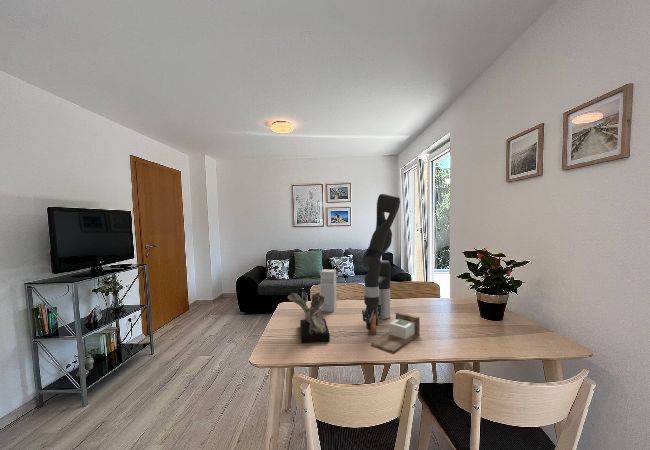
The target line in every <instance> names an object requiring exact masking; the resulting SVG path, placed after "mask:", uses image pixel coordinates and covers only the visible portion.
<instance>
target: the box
mask: <svg viewBox="0 0 650 450" xmlns="http://www.w3.org/2000/svg"><path fill="white" fill-rule="evenodd" d="M319 273H320V296H321V295H322V296H323V297H325V299H324V303H323V304H322V305H321V307H320V310H321V312H331V313H333V312H335V311H336V310H337V308H338V303H337V301H338V300H337V269H332V268H331V269H322V270H320V272H319Z"/></svg>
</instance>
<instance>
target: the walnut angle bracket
mask: <svg viewBox="0 0 650 450" xmlns="http://www.w3.org/2000/svg"><path fill="white" fill-rule="evenodd" d="M398 318H399V319H403V320H407V321H410V322H414V323H415V334H413V335H412V336H410V337H409V338H407V339H403V338H399V337H396V336H393V335H390V334H389V331H388V332H386V334H383V335H381V336H380V337H378V338H377V339H375V340H372V341H371V342H370V346H372V347H375V348H378V349H380V350H383V351H386V352H389V353H392V354H395V353H397V352H398V351H399V350H401V349H402V348H403V347H405V346H406V345H408V344H410V343H411V342H412V341H414V340H415V339H416V338H418V337H420V335H421V334H420V332H421V331H420V330H421V327H420V322H421V321H420V316H416V315H411V314H408V313H404V312H399V311H396V312H395V320H396V319H398Z"/></svg>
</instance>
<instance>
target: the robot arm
mask: <svg viewBox="0 0 650 450" xmlns="http://www.w3.org/2000/svg"><path fill="white" fill-rule="evenodd" d="M400 205H401V198H400V197H399V196H397V195H393V194H387V193H380V194H378V197H377V200H376V222H375V230H374V232H373V233H372V235H371V238H370V242H369V246H368V247H367V249H366V251H365V253H364V254H363V257H362V260H361V263H362V266H363V267H364V268H366V269H367V274H365V275H364V292H363V293H364V300H363V301H364V305H365V308H364V309H362V310H361V313H362V314H361V315H362V320H363V321H362V322H363V323H364V322H365V328H366V330H367V331H368V330H370V329H371V318H372V317H373V314H375V313H376V327H378V326H379V319H380V320H386V319H390V318H391V273H392V272H391V270H392V269H391V263H390V261H389V260H385V259H384V260H383V259H381V258H382V256H383V255H384V254H385V253H386V252H387V251H388V250H389V248H390V247H391V246H392V245H391V244H392V239H393V231H392V225H393V224H394V221H395V219H396V216H397V214H398V211H399V208H400ZM385 213H387V214H388V216H387V217H386V215H385ZM380 277H382V278H381V279H379V278H380ZM368 314H369V315H371V316H368ZM368 317H369V320H368Z"/></svg>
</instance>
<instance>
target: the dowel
mask: <svg viewBox="0 0 650 450" xmlns="http://www.w3.org/2000/svg"><path fill="white" fill-rule="evenodd" d="M368 316H371V315H369V314H368ZM368 320H369V317H368ZM367 334H368V335H371V336H375V335H376V334H377V326H376V313H375V314H373V317H372V318H371V329H370V330H368V329H367Z"/></svg>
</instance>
